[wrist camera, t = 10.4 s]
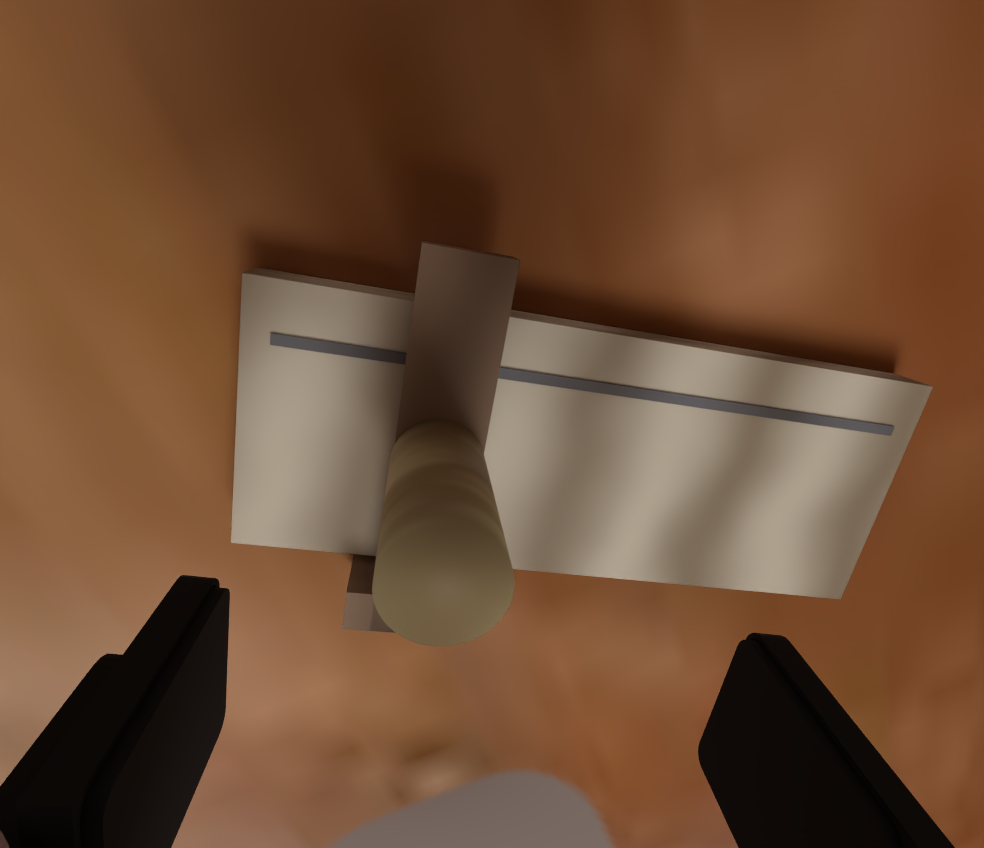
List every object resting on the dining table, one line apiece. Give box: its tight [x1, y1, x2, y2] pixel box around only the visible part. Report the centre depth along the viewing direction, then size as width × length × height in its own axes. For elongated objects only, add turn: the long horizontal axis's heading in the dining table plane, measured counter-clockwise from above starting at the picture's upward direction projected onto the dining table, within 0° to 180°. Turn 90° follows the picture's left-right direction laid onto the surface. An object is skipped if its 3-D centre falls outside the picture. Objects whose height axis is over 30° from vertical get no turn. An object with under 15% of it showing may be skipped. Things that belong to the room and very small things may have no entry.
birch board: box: [231, 268, 933, 599], centre depth 23 cm, size 26×10×2 cm, turn 80°
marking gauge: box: [342, 240, 520, 646], centre depth 18 cm, size 5×14×10 cm, turn 170°
